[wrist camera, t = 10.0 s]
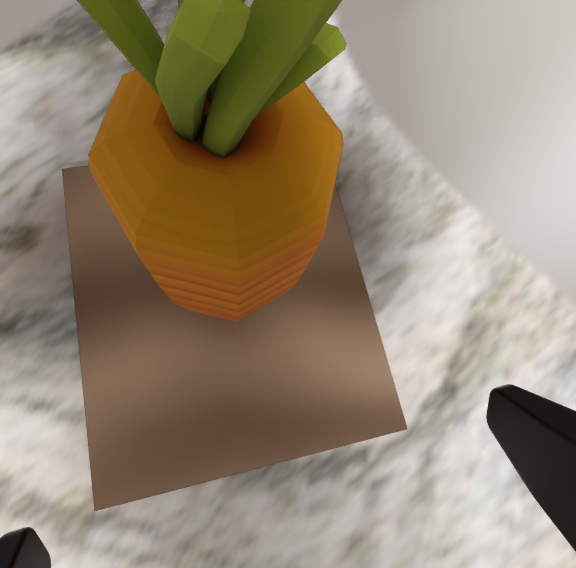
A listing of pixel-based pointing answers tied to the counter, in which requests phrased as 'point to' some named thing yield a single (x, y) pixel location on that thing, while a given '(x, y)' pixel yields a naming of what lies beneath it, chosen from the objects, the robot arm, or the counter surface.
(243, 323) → the walnut board
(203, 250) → the carrot
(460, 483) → the counter surface
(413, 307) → the counter surface
